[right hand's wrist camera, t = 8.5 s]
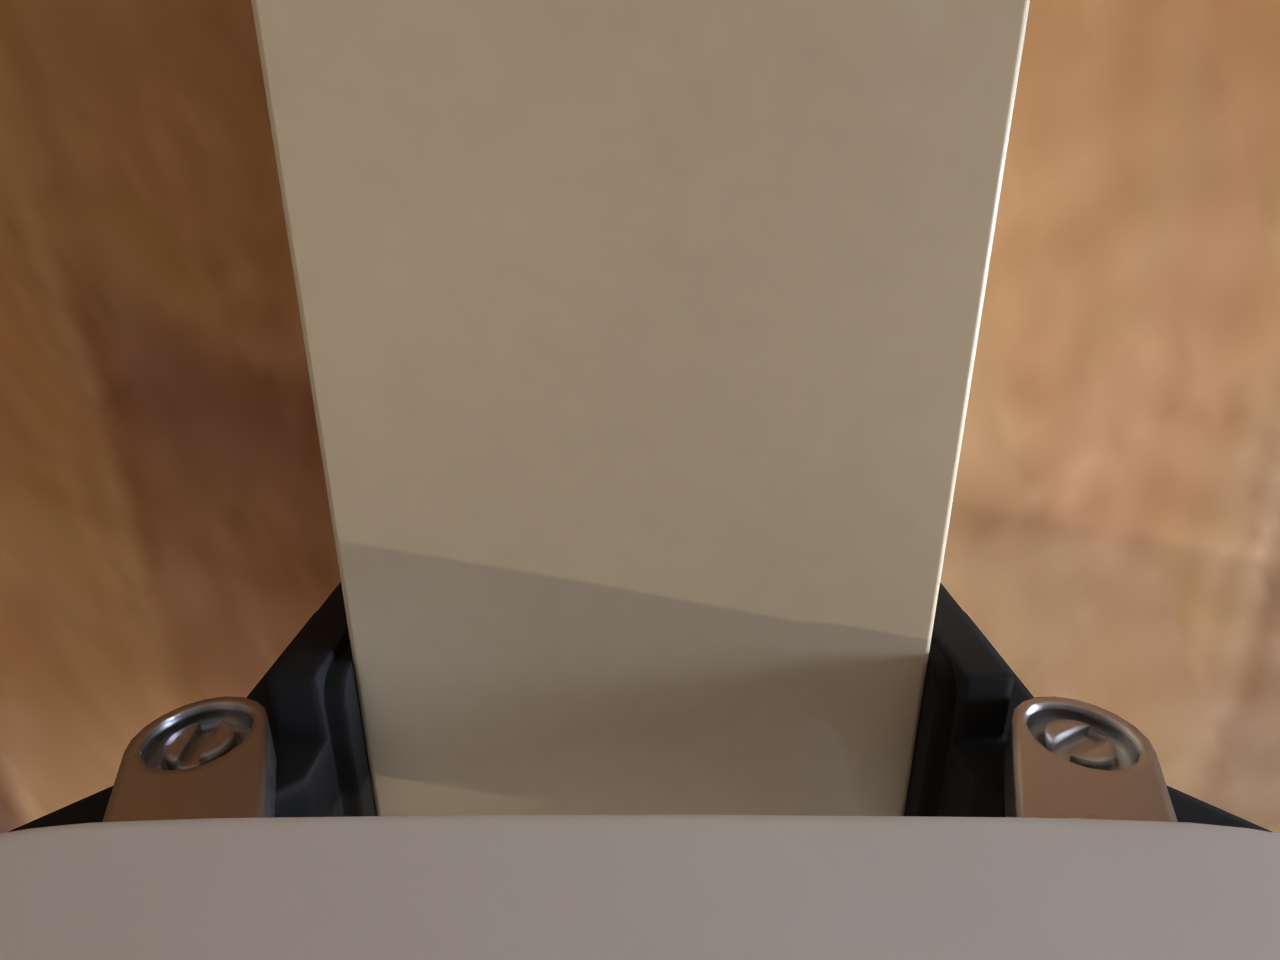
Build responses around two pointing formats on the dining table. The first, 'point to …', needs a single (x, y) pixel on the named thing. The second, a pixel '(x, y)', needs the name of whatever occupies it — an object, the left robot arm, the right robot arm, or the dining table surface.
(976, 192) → the cabinet
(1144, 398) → the dining table surface
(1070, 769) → the right robot arm
